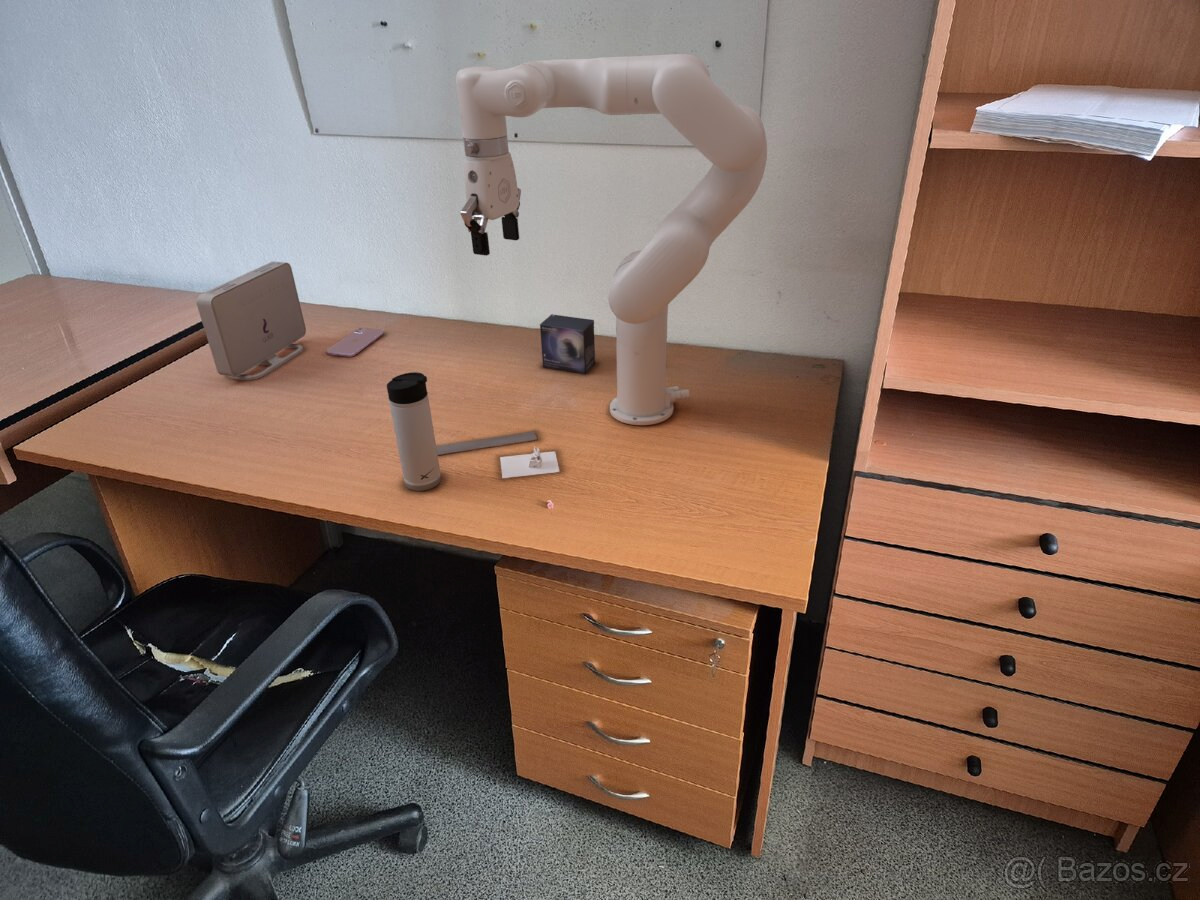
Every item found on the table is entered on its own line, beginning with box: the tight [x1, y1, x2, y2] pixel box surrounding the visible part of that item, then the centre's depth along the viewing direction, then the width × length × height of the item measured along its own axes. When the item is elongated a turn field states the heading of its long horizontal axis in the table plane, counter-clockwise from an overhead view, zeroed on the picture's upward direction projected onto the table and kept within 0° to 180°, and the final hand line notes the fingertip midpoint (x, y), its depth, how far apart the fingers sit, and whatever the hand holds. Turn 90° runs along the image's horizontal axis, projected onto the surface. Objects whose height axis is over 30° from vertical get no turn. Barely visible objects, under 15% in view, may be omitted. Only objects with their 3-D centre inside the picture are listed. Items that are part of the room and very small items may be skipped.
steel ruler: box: [436, 430, 538, 456], centre depth 145 cm, size 20×3×1 cm, turn 105°
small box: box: [539, 313, 596, 375], centre depth 171 cm, size 11×6×10 cm, turn 68°
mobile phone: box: [325, 327, 385, 358], centre depth 187 cm, size 8×1×15 cm
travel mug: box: [386, 371, 442, 492], centre depth 130 cm, size 6×7×20 cm
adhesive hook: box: [528, 446, 543, 468], centre depth 138 cm, size 3×3×3 cm
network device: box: [196, 261, 307, 381], centre depth 175 cm, size 26×9×20 cm, turn 161°
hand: (496, 246), depth 142 cm, fingers open, 9 cm apart
